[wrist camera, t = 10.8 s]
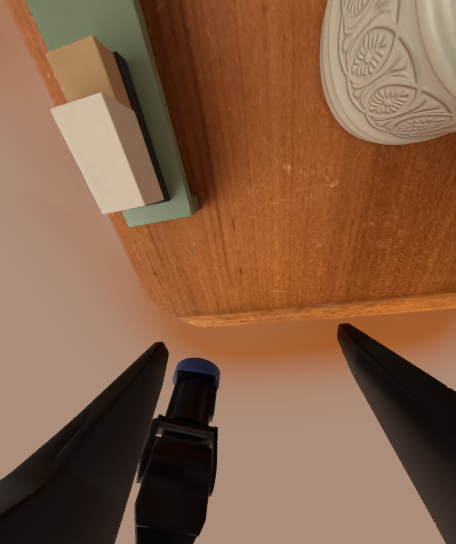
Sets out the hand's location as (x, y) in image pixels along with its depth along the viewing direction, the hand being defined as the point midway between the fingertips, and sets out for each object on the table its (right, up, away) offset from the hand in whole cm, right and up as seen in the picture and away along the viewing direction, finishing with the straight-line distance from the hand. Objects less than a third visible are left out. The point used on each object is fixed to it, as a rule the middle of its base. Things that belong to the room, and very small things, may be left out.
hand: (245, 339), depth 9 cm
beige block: (-8, +13, +4) cm, 15 cm away
